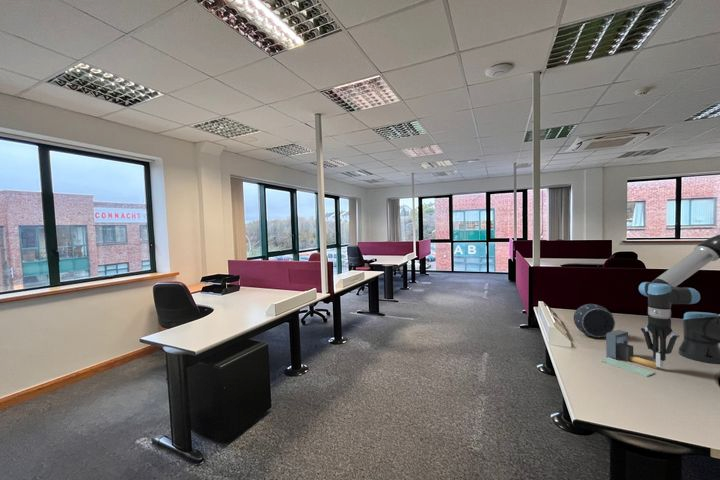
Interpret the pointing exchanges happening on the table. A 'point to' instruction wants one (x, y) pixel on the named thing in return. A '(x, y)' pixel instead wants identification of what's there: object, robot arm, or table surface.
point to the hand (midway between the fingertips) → (659, 366)
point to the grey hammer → (627, 354)
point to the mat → (628, 367)
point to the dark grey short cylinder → (594, 320)
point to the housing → (615, 342)
